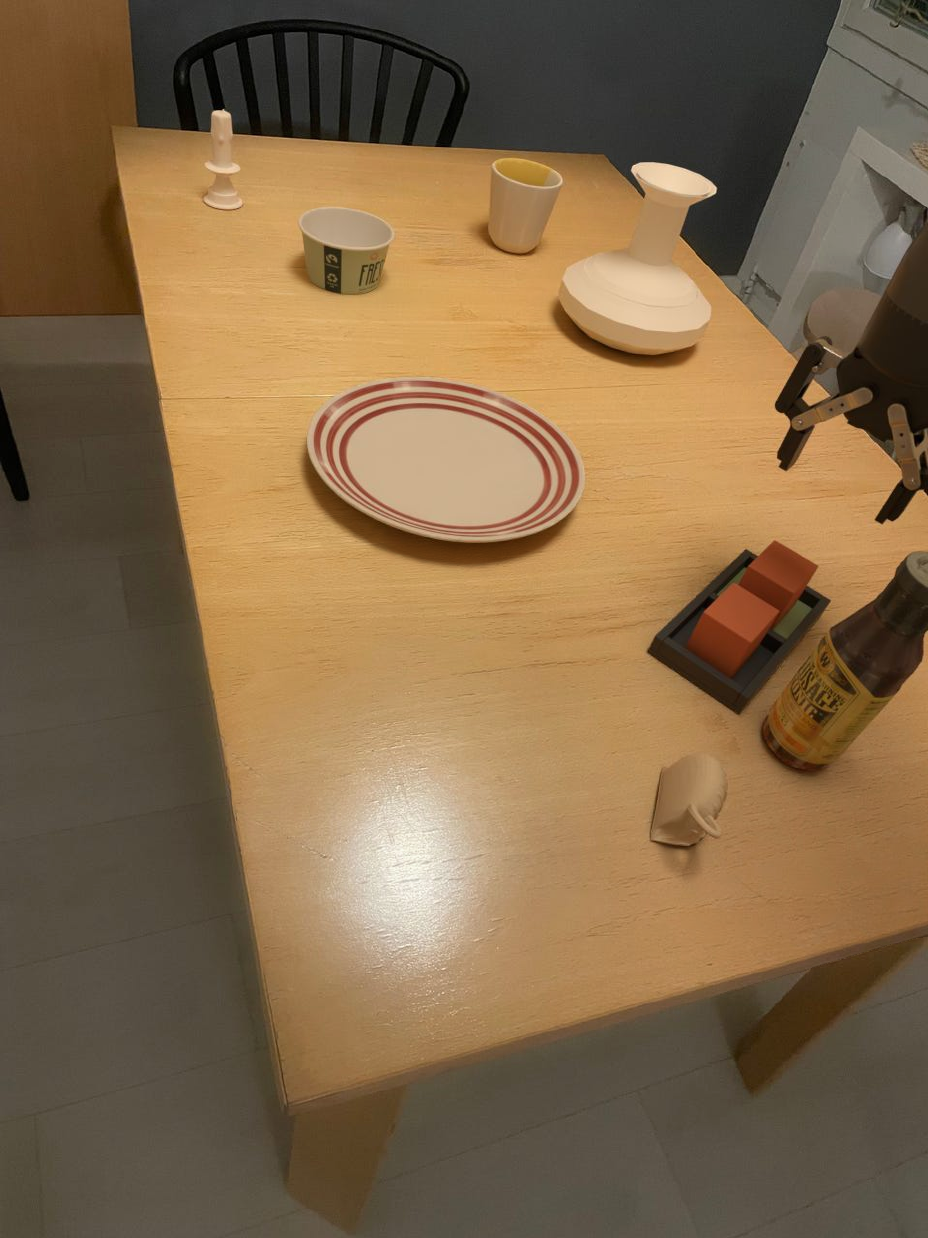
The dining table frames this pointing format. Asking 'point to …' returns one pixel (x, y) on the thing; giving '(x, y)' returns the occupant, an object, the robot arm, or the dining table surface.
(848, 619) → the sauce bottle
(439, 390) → the dinner plate
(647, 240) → the white vase
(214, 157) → the candle
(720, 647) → the orange rectangular block
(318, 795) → the dining table surface
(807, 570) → the orange block
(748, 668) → the pad holder
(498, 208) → the mug
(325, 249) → the food container
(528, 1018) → the dining table surface
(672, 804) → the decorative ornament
